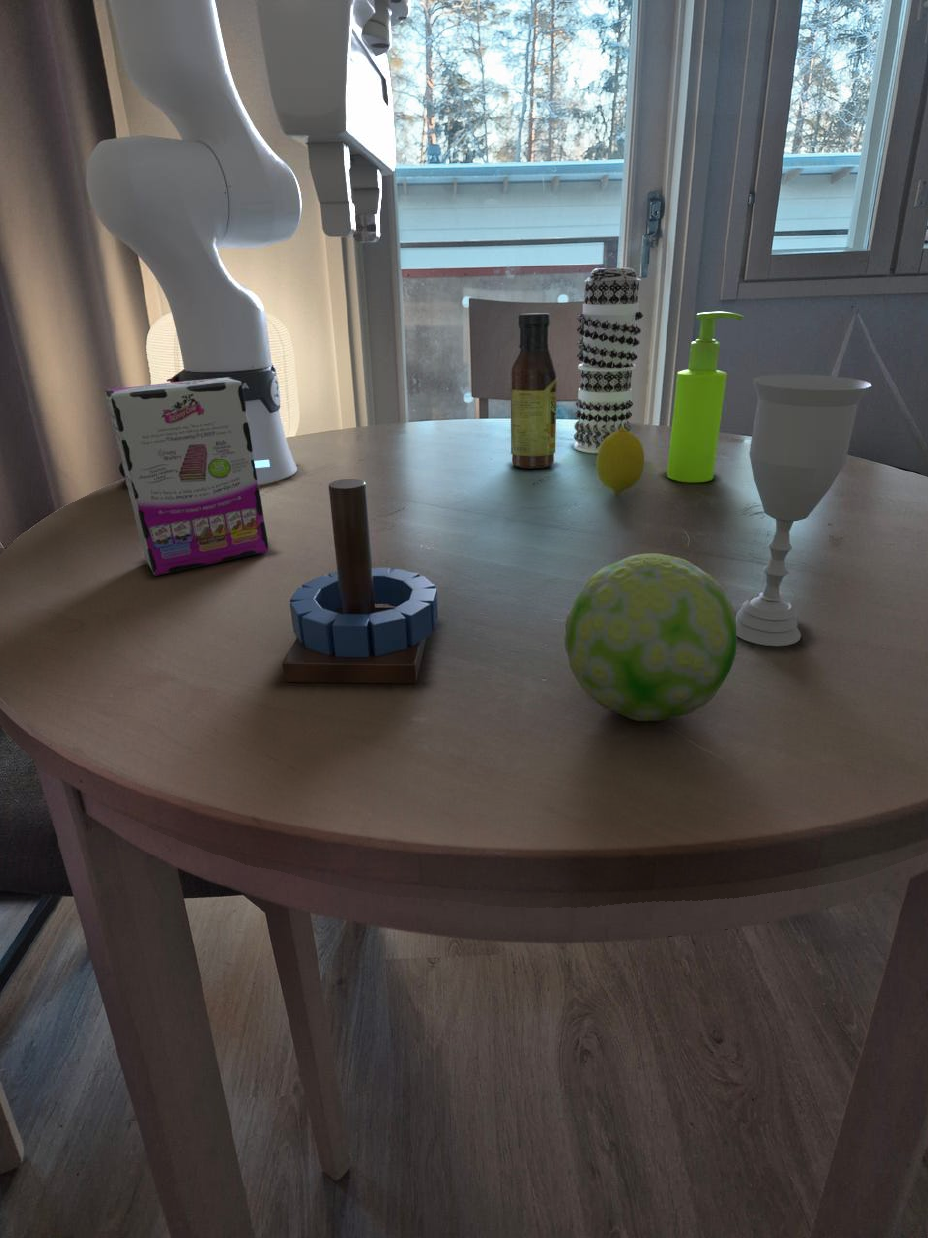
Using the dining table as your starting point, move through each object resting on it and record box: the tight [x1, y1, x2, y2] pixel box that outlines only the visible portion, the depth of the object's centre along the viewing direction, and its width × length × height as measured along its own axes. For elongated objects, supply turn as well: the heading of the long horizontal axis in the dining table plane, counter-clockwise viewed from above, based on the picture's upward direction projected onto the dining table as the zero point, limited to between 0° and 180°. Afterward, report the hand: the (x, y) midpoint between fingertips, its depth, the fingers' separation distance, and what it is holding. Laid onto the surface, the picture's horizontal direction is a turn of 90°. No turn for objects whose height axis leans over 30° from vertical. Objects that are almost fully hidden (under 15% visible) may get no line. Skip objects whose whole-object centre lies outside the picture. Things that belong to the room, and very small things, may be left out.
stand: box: [281, 478, 428, 685], centre depth 50 cm, size 9×9×12 cm
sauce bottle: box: [510, 312, 558, 470], centre depth 97 cm, size 7×6×20 cm
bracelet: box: [289, 567, 439, 657], centre depth 52 cm, size 10×10×2 cm
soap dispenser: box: [666, 311, 745, 483], centre depth 90 cm, size 6×7×20 cm
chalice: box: [735, 374, 872, 647], centre depth 50 cm, size 7×7×18 cm
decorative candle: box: [573, 267, 644, 454], centre depth 105 cm, size 9×9×25 cm
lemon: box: [596, 428, 645, 495], centre depth 86 cm, size 6×6×8 cm
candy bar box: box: [104, 377, 270, 576], centre depth 67 cm, size 11×5×16 cm, turn 122°
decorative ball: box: [564, 552, 738, 722], centre depth 43 cm, size 10×10×10 cm
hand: (354, 239), depth 49 cm, fingers open, 8 cm apart
